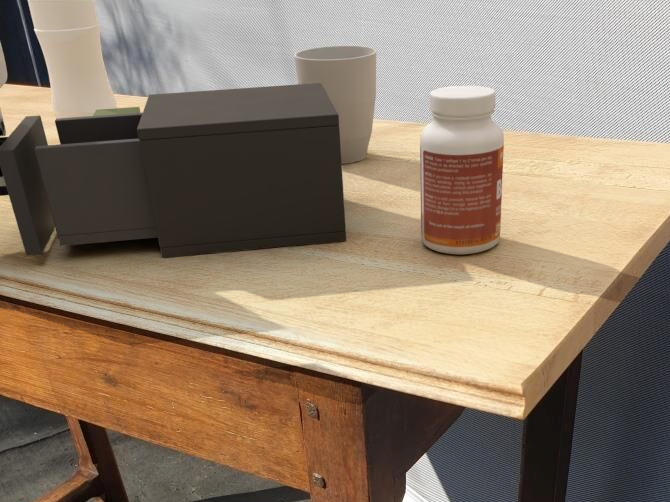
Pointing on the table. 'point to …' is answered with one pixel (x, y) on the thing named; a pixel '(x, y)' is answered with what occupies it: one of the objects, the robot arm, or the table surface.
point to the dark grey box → (243, 168)
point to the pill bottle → (461, 171)
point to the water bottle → (72, 56)
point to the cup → (345, 91)
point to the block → (117, 111)
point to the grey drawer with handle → (78, 181)
